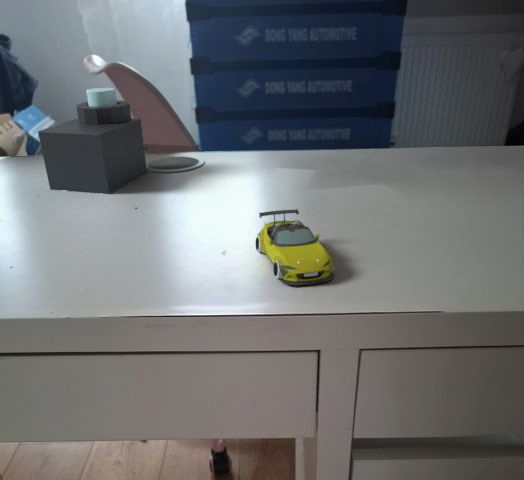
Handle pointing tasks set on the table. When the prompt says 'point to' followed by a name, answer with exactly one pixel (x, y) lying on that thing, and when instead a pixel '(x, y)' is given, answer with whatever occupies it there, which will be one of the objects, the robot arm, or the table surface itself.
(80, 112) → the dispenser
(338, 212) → the table surface
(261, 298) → the table surface
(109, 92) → the pale turquoise short cylinder
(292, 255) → the sports car
